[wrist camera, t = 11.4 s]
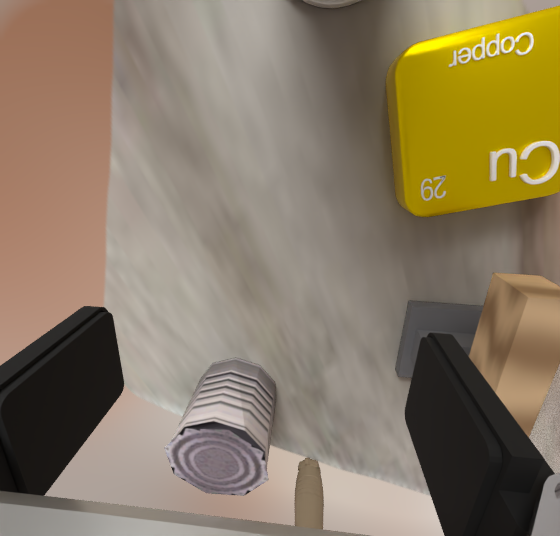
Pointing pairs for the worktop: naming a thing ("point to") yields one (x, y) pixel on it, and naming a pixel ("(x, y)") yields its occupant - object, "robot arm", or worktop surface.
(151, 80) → the worktop surface
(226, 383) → the can
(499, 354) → the oak batten
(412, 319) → the fulcrum stand
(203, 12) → the worktop surface
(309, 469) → the handle
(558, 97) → the element tile
